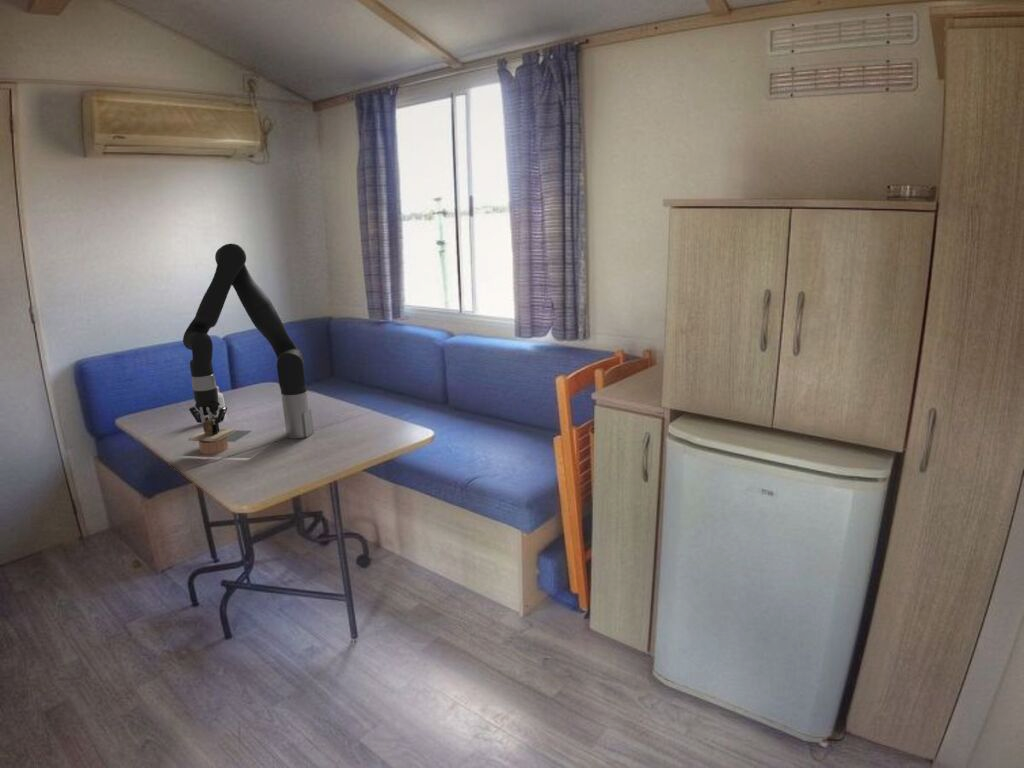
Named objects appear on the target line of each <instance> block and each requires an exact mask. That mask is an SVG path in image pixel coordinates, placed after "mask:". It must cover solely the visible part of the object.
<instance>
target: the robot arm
mask: <svg viewBox="0 0 1024 768" xmlns="http://www.w3.org/2000/svg"><path fill="white" fill-rule="evenodd" d="M246 254H247V253H246V252H245V249H243V247H242V246H240V245H239V244H236V243H226V244H224V245H222V246H221V247H219V248H218V249H217V250H216V252H215V254H214V255H215V256H214V257H215V259H214V260H215V262H216V268H215V272H214V275H213V277H212V279H211V282H210V284H209V286H208V288H207V289H206V291H205V293H204V294H203V296H202V299H201V301H200V303H199V306H198V308H197V310H196V314H195V316H194V318H193V319H192V321H191V322H190V323H189V325H188V327H187V329H186V330H185V331H184V333H183V336H182V342H183V343H182V344H183V345H184V347H185V348H186V349H187V350H189V351H191V353H192V359H190V361H189V369H190V375H191V386H192V392H193V393H192V394H193V398H194V401H195V405H194V406H191V407H190V408H189V409H188V410H189V412H190V413H191V415H192V416H193V418H194V419H195V421H196V423H198V424H199V423H200V424H201V425H202V427H203V429H204V426H203V422H205V421H207V420H209V418H210V419H211V422H212V424H213V425H212V428H213V434H217V433H218V432H219V429H220V426H219V424H221V423H222V422H221V421H223V419H224V417H225V414H226V415H227V410H228V407H227V406H225V407H222V406H220V404H219V402H218V393H217V386H218V385H217V381H216V376H215V373H214V367H213V366H214V365H213V361H212V360H213V350H214V349H213V347H214V345H213V341H212V338H211V336H210V335H209V334H208V333H209V330H211V328H214V327H215V326H216V325H217V323H218V322H219V319H220V315H221V313H222V310H223V308H224V305H225V304H226V303H225V302H226V300H227V297H228V295H229V292H230V290H231V288H232V287H233V289H234V291H235V293H236V295H237V297H238V299H239V301H240V303H241V305H242V306H243V308H244V311H245V312H246V314H247V315H248V317H249V319H250V321H251V322H252V324H253V325H254V326H255V328H256V329H257V330H258V331H259V332H260V334H261V335H262V336H263V337H264V338H265V339H266V340H267V342H268V343H269V345H270V346H271V348H272V350H273V351H274V352H273V353H274V354H275V355H276V359H277V360H276V371H277V377H278V385H279V388H280V394H281V395H280V396H281V401H282V411H283V419H284V426H285V433H286V437H287V439H303V438H308V437H309V436H311V435H312V434H313V433H314V432H315V431H314V421H313V414H312V409H310V407H309V405H310V404H309V398H308V389H307V384H306V378H305V369H304V368H305V367H304V364H305V359H304V356H303V354H302V353H301V350H299V348H298V347H297V346H296V344H295V342H294V341H293V340H292V339H291V337H290V335H289V334H288V332H287V330H286V328H285V325H284V323H283V321H282V319H281V317H280V316H279V314H278V312H277V310H276V308H275V306H274V304H273V303H272V301H271V299H270V298H269V297H268V295H267V294H266V293H265V291H264V290H263V289H262V288H261V287H260V286H259V285H258V283H257V282H255V280H254V279H253V277H252V276H251V274H250V272H249V270H248V267H247V266H246V261H247V255H246ZM217 410H218V412H219V414H218V412H217ZM213 414H214V415H213ZM220 422H221V423H220Z"/></svg>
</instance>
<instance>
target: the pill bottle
mask: <svg viewBox="0 0 1024 768" xmlns="http://www.w3.org/2000/svg"><path fill="white" fill-rule="evenodd" d="M216 386H217V393H218V402H219V404H220V406H222V407H226V404H225V399H224V394H223V393H222V392H220V387H219V386H218V385H216ZM217 412H218V410H217ZM218 414H219V412H218ZM213 415H214V414H213ZM209 419H210V418H209ZM227 420H228V415H227V413H226V414H225V417H224V419H223V421H221V422H220V423H219V424H221V423H224V422H226V421H227Z"/></svg>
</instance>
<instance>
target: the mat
mask: <svg viewBox="0 0 1024 768" xmlns="http://www.w3.org/2000/svg"><path fill="white" fill-rule="evenodd" d="M251 432H252V430H239V429H238V430H237V429H235V432H234V433H232V434H230V435H228V436H227V441H228V443H229V442H231V443H235V442H237V441H238V440H240V439H242V438H243V437H245V436H246V435H249V434H250V433H251Z"/></svg>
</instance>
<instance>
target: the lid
mask: <svg viewBox="0 0 1024 768" xmlns="http://www.w3.org/2000/svg"><path fill="white" fill-rule="evenodd" d="M212 425H213V424H212V422H211V419H209V420H207V421H205V422H203V424H202V427H203V426H204V428H203V430H202V431H200V432H198V433H196V434H194V435H193V436H190V437H188V441H189V442H192V441H193V442H199V441H219V440H221V439H223V438H225V437H226V436H228V435H230V434H232V433H234V432H235V430H236V429H235V428H234V429H233V428H219V432H218V433H217V434H213V428H212Z"/></svg>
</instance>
